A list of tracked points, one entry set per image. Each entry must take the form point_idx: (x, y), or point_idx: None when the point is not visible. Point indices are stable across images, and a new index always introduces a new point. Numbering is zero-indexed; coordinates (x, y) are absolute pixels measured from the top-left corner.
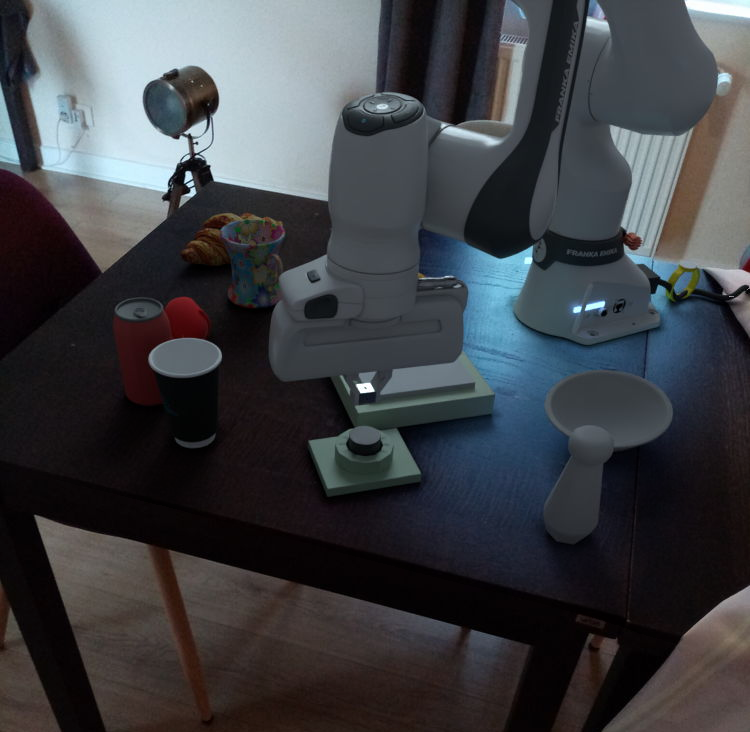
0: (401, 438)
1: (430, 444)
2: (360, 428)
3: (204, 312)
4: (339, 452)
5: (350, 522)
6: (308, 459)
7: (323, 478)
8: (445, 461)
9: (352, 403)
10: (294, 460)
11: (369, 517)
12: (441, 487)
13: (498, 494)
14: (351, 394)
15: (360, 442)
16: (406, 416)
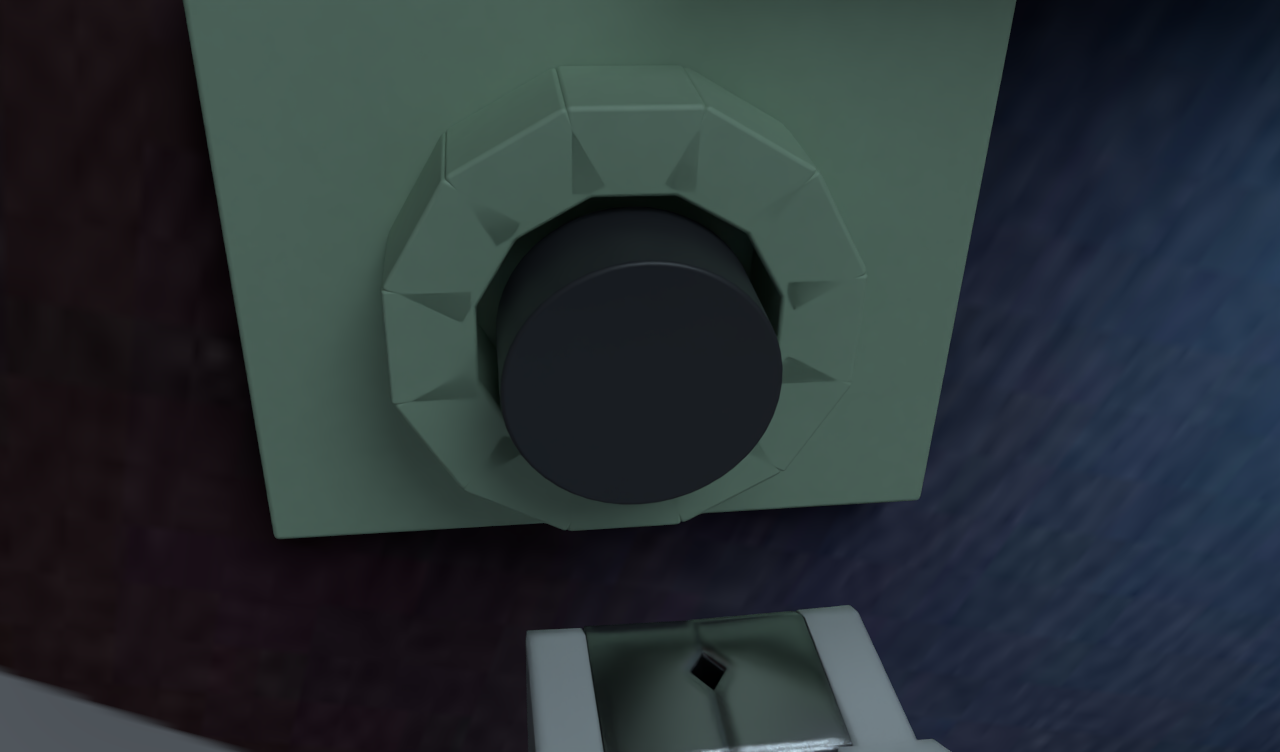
0: (986, 126)
1: (1169, 122)
2: (635, 301)
3: None
4: (398, 397)
5: (387, 677)
6: (186, 93)
7: (259, 445)
8: (1147, 314)
9: (527, 710)
10: (60, 80)
11: (501, 658)
12: (986, 516)
13: (1226, 600)
14: (532, 744)
15: (574, 471)
16: None
